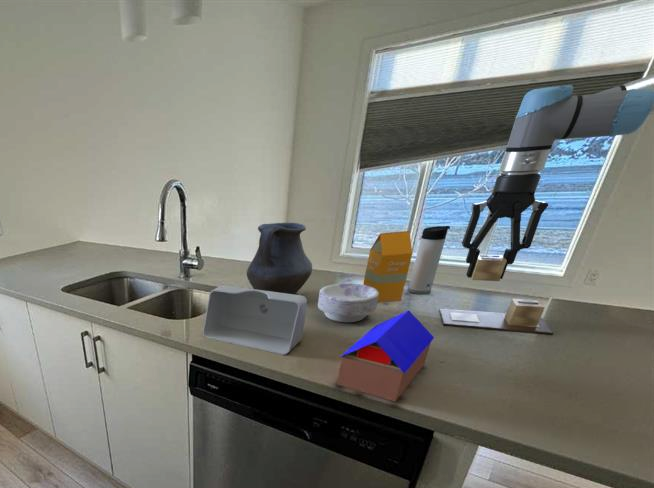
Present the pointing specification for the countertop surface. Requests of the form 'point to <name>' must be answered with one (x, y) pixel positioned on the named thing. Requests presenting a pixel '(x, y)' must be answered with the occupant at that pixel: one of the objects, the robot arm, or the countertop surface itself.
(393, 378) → the house
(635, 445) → the countertop surface
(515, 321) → the wooden letter tile box
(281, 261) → the pitcher
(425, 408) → the countertop surface
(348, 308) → the paper bowls
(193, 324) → the countertop surface
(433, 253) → the travel mug
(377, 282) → the orange juice
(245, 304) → the gray plastic bin
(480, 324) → the word board
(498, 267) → the wooden letter cube
